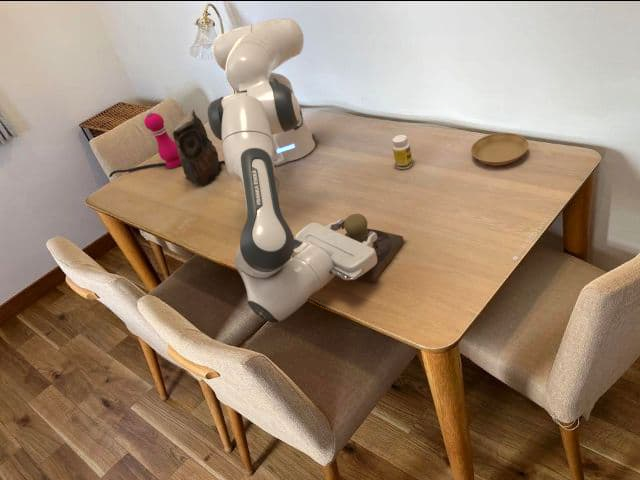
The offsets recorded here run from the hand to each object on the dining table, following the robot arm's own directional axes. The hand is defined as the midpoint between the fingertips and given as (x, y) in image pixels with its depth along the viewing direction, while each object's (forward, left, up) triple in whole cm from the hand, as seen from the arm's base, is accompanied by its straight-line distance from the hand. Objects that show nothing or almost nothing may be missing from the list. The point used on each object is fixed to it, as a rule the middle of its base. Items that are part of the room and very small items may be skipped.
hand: (359, 227), depth 113 cm
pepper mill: (-91, +19, -8) cm, 93 cm away
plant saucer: (+15, +46, -8) cm, 49 cm away
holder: (0, -1, -7) cm, 7 cm away
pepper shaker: (0, -1, -8) cm, 8 cm away
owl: (-73, +16, -8) cm, 75 cm away
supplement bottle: (-9, +36, -8) cm, 38 cm away
